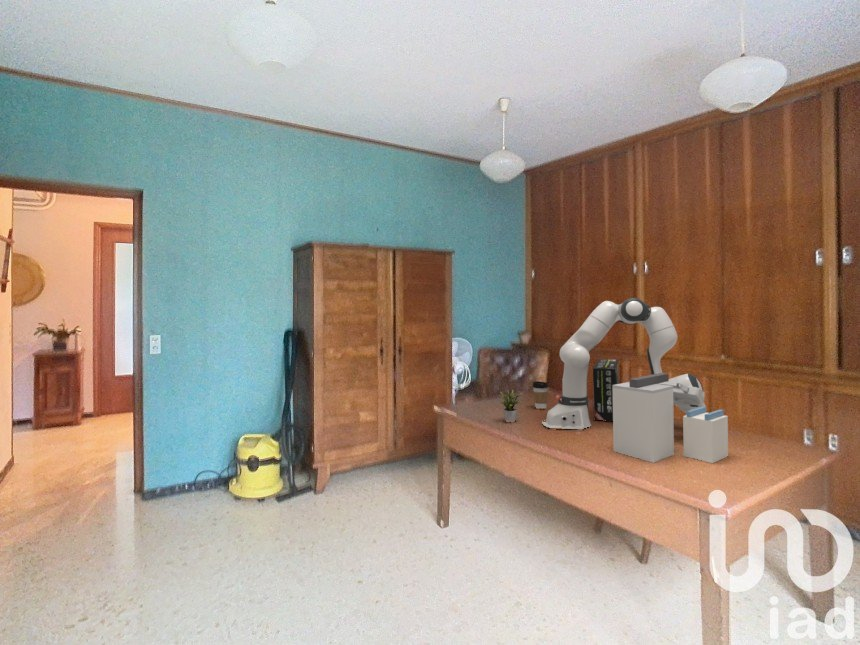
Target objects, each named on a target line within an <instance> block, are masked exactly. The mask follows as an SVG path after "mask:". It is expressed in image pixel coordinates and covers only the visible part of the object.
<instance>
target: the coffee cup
mask: <svg viewBox="0 0 860 645" xmlns="http://www.w3.org/2000/svg"><path fill="white" fill-rule="evenodd" d="M548 383H549V382H546V381H536V380H535V381H533V382H532V388H533V401H534V408H535V407H536V408H546V409H547V404H548V403H547V402H548V388H549V384H548Z"/></svg>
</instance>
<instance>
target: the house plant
mask: <svg viewBox="0 0 860 645" xmlns="http://www.w3.org/2000/svg"><path fill="white" fill-rule="evenodd" d="M500 394H501V395H500ZM500 394H499V397H501V399H503V401H499V402H498V404H502V405H503V406H504V407H505V408H503V409H502V412H503V416H504V421H505V420H509V421H514V420H516V421H517V416H518V409H517V407H516V406H515V405H518V404H520V405H522V402H520V399H518V400H517V398H520V396H521V395H523V394H524V392H523V391H522V392H520V393H518V394H517V395H515V396H514V389H512V390H511V393H510V392H509V390H507V394H506V395H505V393H503V392H502V391H500ZM507 395H508V396H507Z"/></svg>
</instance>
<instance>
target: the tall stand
mask: <svg viewBox="0 0 860 645" xmlns="http://www.w3.org/2000/svg"><path fill="white" fill-rule="evenodd" d="M612 387H613V422H612V424H613V425H612V431H613V432H612V434H613V437H612V438H613V445H612V446H613V453H616V452H618V454H620V453H621V455H624V454H625V456H627V455H628V457H631V456H632V457H631V458H635V459H638V458H639V459H638V460H642V461H646V462H650V463H657V462H659V461H662V460H664V459H667V458H669V457H671V456H674V455H675V443H674V442H675V436H674V435H675V430H674V428H675V427H674V424H675V423H674V404H673V386H669V385H661V384H653V385H649V386H644V387H640V388H633V387H630V383H629V381H626V382H622V383H619V384H616V385H612Z"/></svg>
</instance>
